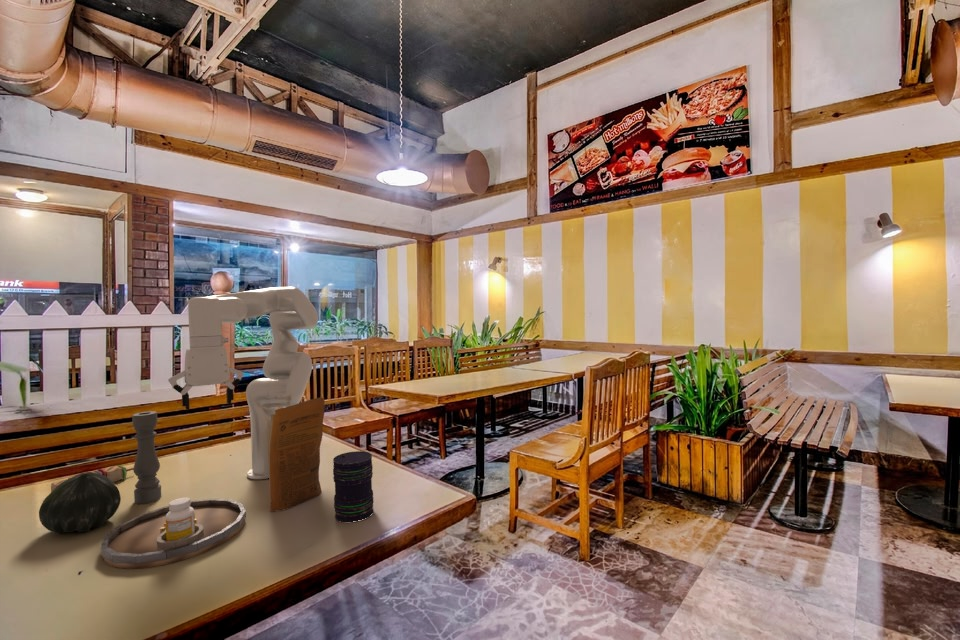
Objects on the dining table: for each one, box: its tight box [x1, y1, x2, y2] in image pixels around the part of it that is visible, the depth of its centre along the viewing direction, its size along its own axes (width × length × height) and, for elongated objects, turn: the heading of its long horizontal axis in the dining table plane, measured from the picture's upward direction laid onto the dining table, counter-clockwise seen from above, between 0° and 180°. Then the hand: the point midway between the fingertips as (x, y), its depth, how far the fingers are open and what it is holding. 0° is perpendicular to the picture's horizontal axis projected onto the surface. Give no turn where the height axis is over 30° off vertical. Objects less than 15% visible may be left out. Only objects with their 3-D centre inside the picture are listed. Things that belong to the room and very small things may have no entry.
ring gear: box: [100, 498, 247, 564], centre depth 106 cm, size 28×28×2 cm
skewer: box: [50, 464, 134, 493], centre depth 139 cm, size 21×6×5 cm, turn 149°
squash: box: [38, 471, 122, 534], centre depth 111 cm, size 14×15×15 cm
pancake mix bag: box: [268, 396, 326, 512], centre depth 123 cm, size 7×19×28 cm, turn 148°
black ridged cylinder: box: [332, 450, 375, 523], centre depth 114 cm, size 10×10×15 cm
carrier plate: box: [102, 506, 246, 570], centre depth 106 cm, size 28×28×4 cm
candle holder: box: [131, 410, 162, 505], centre depth 127 cm, size 6×6×25 cm
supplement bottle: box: [166, 496, 195, 541], centre depth 99 cm, size 5×5×10 cm
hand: (208, 406), depth 119 cm, fingers open, 9 cm apart
